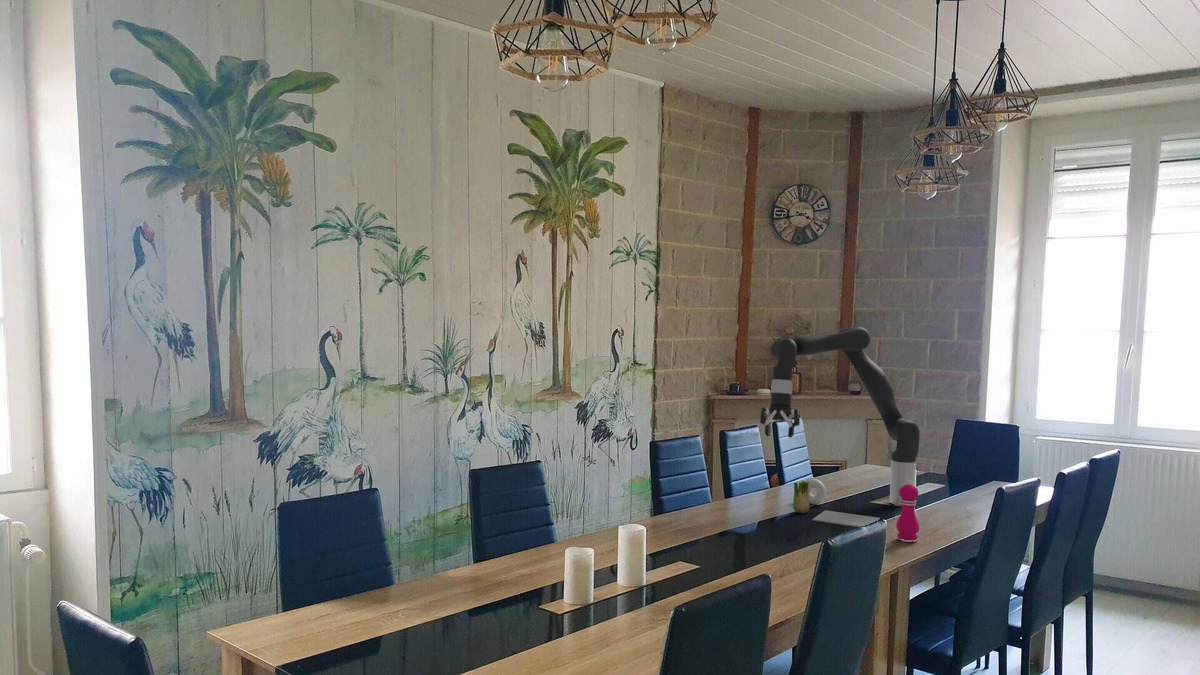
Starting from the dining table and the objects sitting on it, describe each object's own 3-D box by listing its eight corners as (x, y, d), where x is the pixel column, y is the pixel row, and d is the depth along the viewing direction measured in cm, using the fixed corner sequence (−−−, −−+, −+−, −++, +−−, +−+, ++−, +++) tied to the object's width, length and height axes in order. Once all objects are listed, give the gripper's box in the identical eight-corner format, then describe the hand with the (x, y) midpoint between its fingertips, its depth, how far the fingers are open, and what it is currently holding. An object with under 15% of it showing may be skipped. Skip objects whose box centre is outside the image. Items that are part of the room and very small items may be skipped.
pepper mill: (919, 538, 280) (921, 479, 279) (918, 544, 274) (920, 483, 273) (896, 536, 283) (898, 477, 282) (894, 541, 277) (896, 481, 276)
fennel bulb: (793, 514, 311) (793, 481, 311) (792, 510, 316) (793, 479, 316) (809, 515, 310) (810, 482, 310) (808, 511, 315) (809, 480, 315)
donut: (827, 505, 325) (828, 480, 324) (823, 507, 322) (823, 481, 322) (804, 501, 332) (805, 476, 331) (800, 502, 329) (800, 477, 329)
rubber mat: (825, 511, 316) (825, 510, 316) (879, 519, 305) (879, 517, 305) (812, 520, 302) (812, 519, 302) (869, 529, 292) (869, 527, 292)
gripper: (803, 394, 309) (801, 438, 307) (767, 393, 317) (764, 436, 315) (796, 392, 303) (794, 437, 301) (759, 391, 311) (756, 435, 309)
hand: (778, 436), depth 308 cm, fingers open, 8 cm apart
